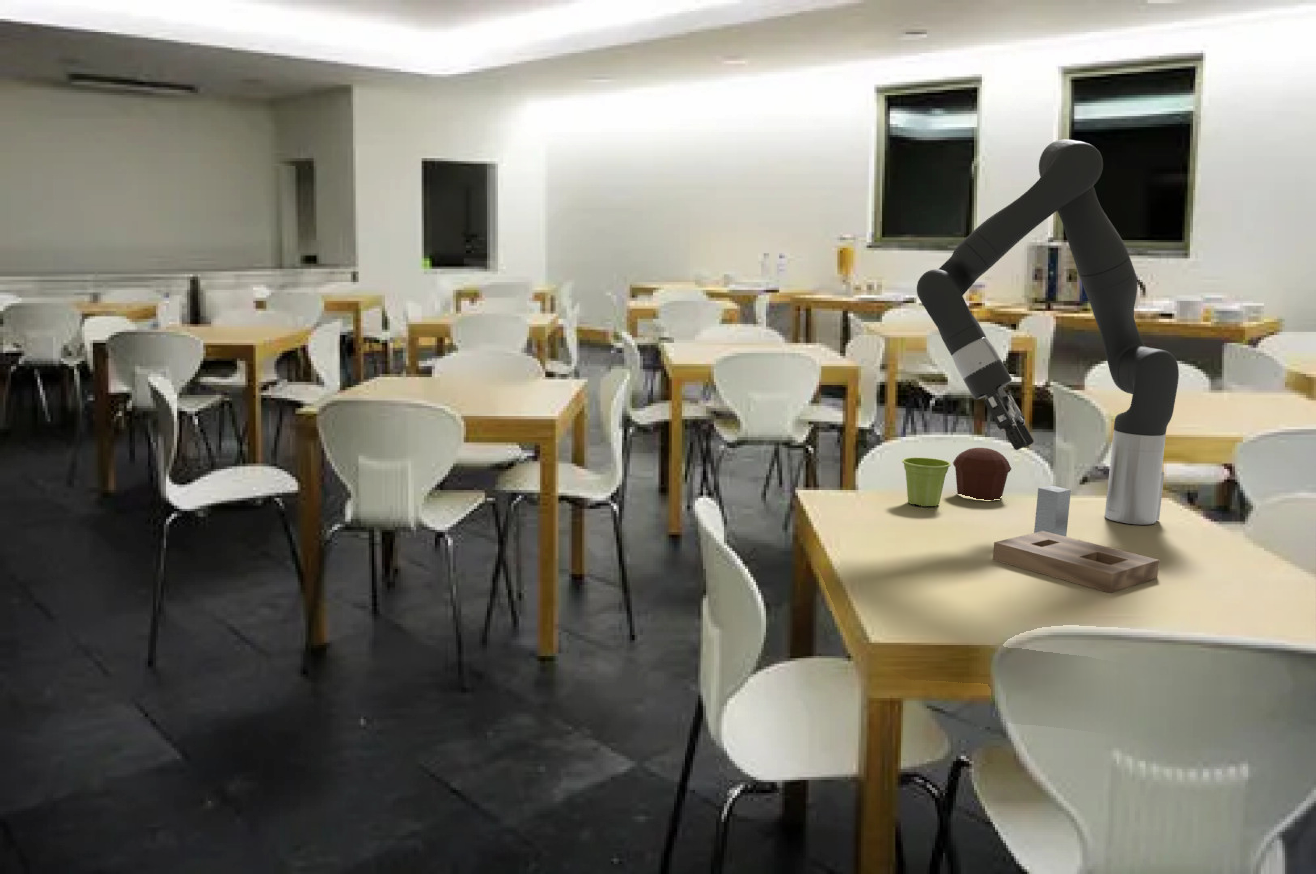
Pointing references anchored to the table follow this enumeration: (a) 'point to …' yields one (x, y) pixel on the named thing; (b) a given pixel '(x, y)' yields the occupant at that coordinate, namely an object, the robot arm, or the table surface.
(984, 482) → the muffin
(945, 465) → the plant pot
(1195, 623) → the table surface
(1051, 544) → the plate
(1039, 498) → the square bit
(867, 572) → the table surface
